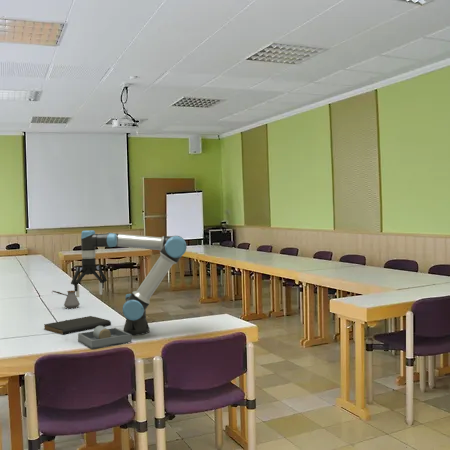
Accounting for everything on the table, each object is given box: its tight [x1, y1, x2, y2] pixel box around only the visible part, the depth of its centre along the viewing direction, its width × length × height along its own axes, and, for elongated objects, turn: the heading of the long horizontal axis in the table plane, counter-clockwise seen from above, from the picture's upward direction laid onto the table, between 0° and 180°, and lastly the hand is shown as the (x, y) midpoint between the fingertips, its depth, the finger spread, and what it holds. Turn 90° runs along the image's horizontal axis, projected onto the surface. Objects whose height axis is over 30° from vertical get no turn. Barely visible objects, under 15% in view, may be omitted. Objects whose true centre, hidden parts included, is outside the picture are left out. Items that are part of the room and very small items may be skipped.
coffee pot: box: [51, 290, 80, 310], centre depth 395 cm, size 21×12×15 cm, turn 132°
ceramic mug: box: [93, 326, 115, 339], centre depth 286 cm, size 11×8×8 cm
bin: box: [77, 327, 132, 350], centre depth 285 cm, size 22×22×4 cm
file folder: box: [43, 315, 112, 336], centre depth 326 cm, size 33×4×24 cm
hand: (89, 295), depth 292 cm, fingers open, 13 cm apart
